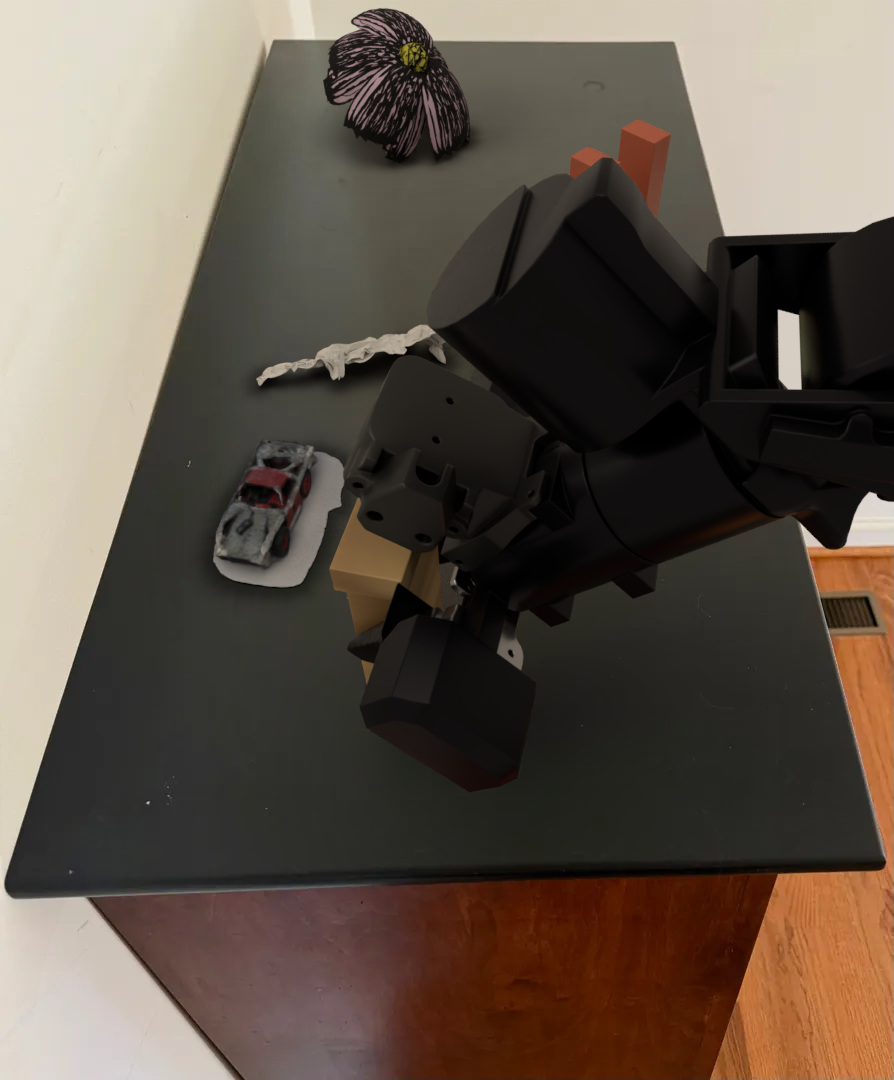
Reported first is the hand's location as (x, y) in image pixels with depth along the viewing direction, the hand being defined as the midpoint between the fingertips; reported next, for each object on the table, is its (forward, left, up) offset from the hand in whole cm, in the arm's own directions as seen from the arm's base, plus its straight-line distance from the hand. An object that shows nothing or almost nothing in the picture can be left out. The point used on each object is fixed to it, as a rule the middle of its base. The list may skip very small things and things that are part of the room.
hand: (371, 605), depth 43 cm
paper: (+15, -26, -12) cm, 32 cm away
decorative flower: (+26, -60, -12) cm, 67 cm away
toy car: (+13, -11, -12) cm, 21 cm away
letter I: (-1, 0, -7) cm, 7 cm away
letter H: (-1, -39, -11) cm, 40 cm away
